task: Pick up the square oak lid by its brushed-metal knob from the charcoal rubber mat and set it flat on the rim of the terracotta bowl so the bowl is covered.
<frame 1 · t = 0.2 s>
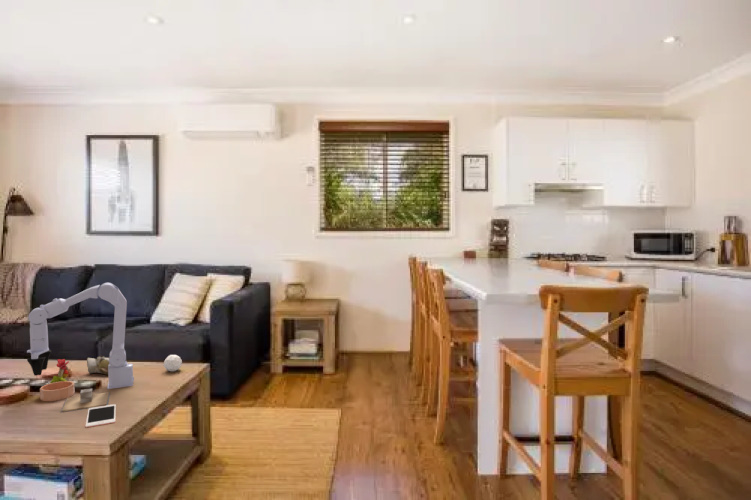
hand: (40, 372, 185), 10 cm above the table, fingers open, 7 cm apart
geometric ball: (173, 371, 219), on the table
rubber mat: (86, 403, 179), on the table
ceramic sculpture: (103, 373, 216), on the table
terracotta bowl: (57, 396, 186), on the table
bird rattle: (61, 384, 201), on the table
cell phone: (101, 417, 167), on the table
oak lid: (86, 402, 179), resting on rubber mat
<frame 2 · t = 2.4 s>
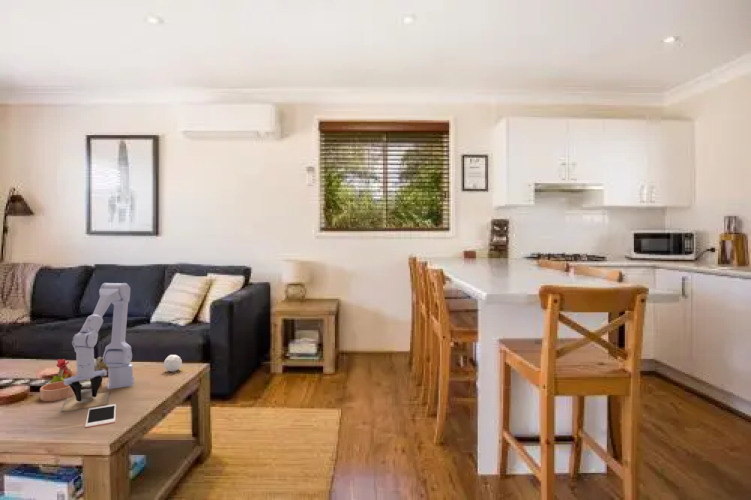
hand: (86, 398, 179), 2 cm above the table, fingers closed on oak lid, 5 cm apart
oak lid: (86, 402, 179), resting on rubber mat, touching gripper
everything else where it was.
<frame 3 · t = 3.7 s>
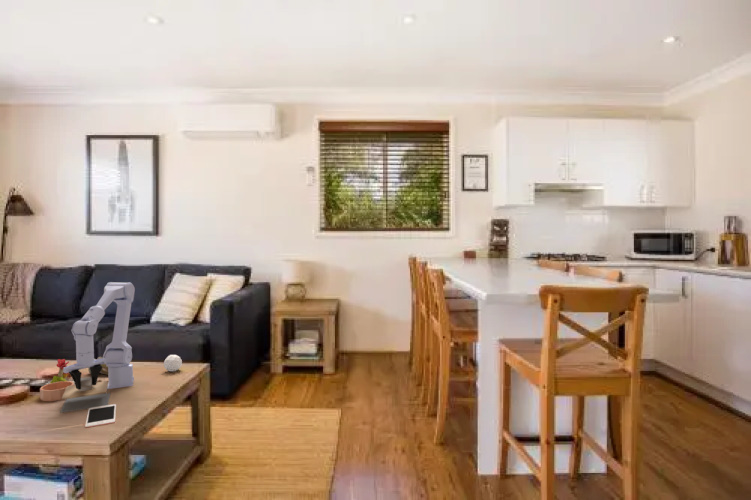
hand: (86, 386, 179), 7 cm above the table, fingers closed on oak lid, 5 cm apart
oak lid: (86, 390, 179), point 5 cm above the table, touching gripper
everything else where it was.
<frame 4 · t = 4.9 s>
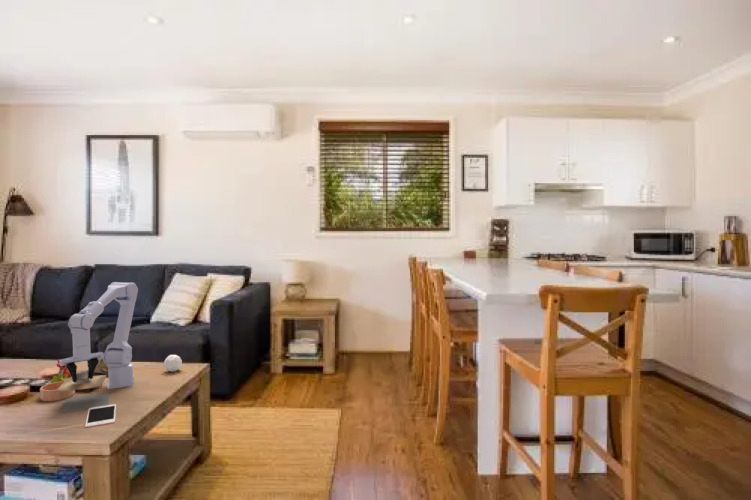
hand: (82, 379, 179), 9 cm above the table, fingers closed on oak lid, 5 cm apart
oak lid: (82, 383, 179), point 7 cm above the table, touching gripper
everything else where it was.
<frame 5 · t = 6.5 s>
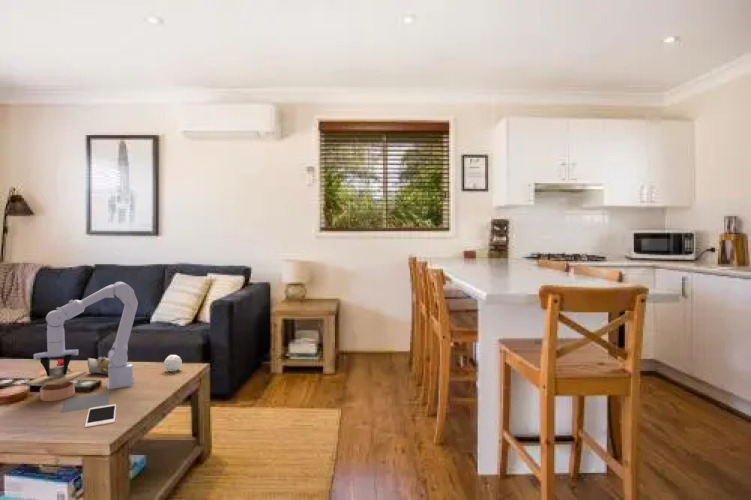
hand: (57, 374, 185), 9 cm above the table, fingers closed on oak lid, 5 cm apart
oak lid: (57, 378, 185), point 7 cm above the table, touching gripper
everything else where it was.
when the fingers open (7 cm above the table, at t = 7.8 s): oak lid drops 1 cm, resting on terracotta bowl.
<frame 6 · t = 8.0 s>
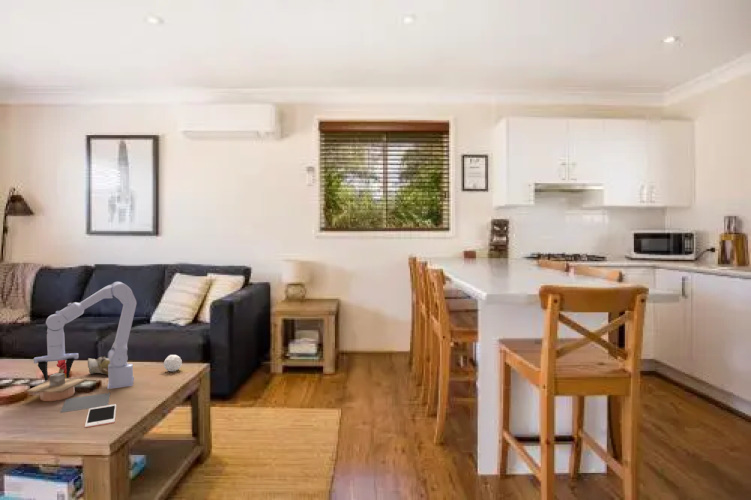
hand: (57, 378, 185), 7 cm above the table, fingers open, 6 cm apart
oak lid: (57, 385, 185), point 4 cm above the table, touching terracotta bowl
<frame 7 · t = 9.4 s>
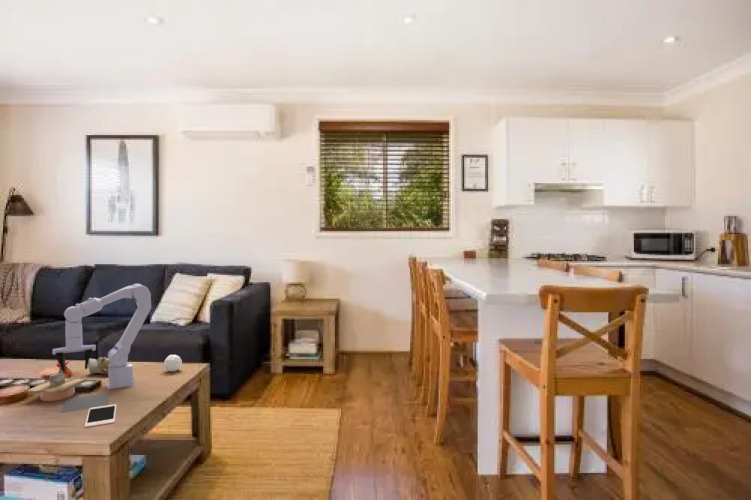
hand: (75, 369, 189), 10 cm above the table, fingers open, 7 cm apart
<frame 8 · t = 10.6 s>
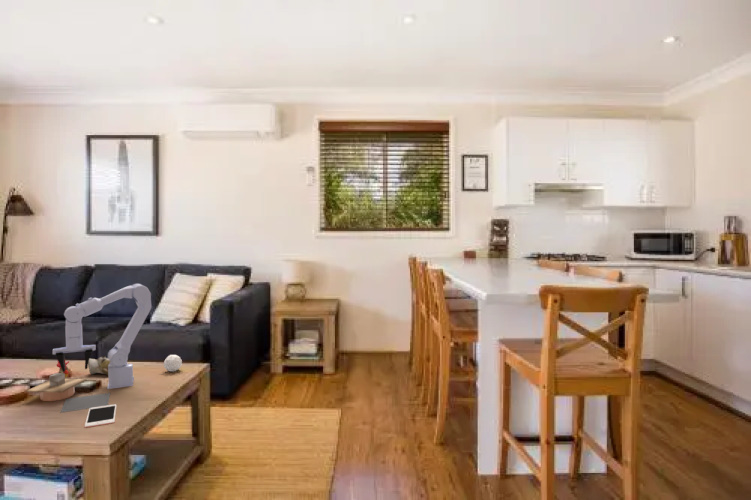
hand: (75, 369, 189), 10 cm above the table, fingers open, 7 cm apart
at the end: oak lid 0.0 cm off-centre on the terracotta bowl, point 4.5 cm above the terracotta bowl's base; oak lid tilted 0°; the gripper is holding nothing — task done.
